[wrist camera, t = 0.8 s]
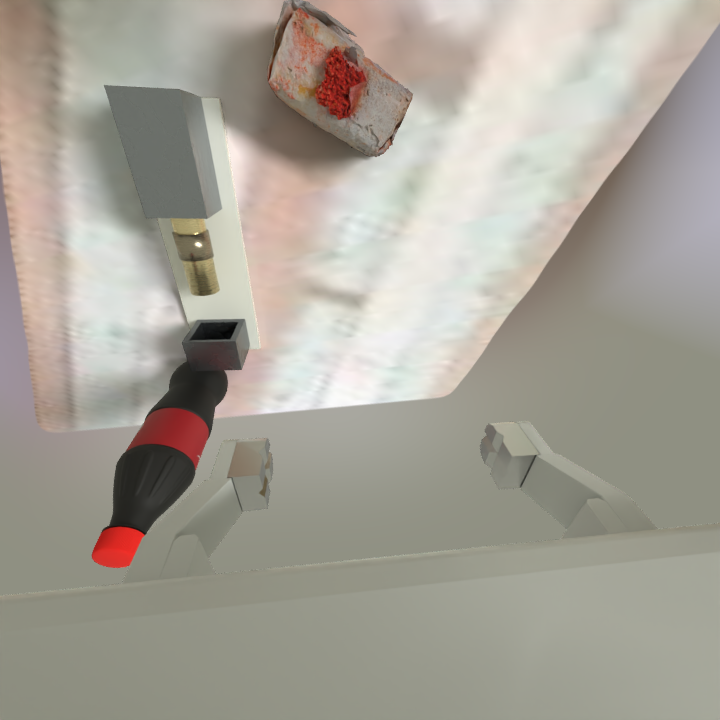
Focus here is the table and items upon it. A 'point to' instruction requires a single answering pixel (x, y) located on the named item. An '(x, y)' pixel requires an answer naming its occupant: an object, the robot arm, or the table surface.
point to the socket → (217, 345)
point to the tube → (196, 255)
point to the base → (218, 243)
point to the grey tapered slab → (167, 150)
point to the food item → (334, 80)
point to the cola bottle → (160, 461)
